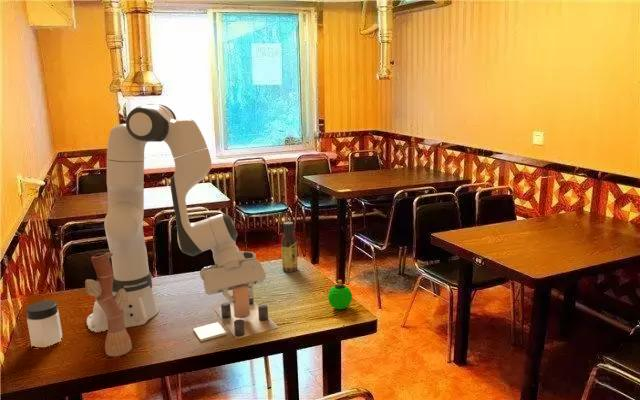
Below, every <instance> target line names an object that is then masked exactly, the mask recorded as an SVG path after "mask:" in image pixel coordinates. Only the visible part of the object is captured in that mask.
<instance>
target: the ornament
mask: <svg viewBox="0 0 640 400" xmlns="http://www.w3.org/2000/svg"><path fill="white" fill-rule="evenodd" d="M327 299H328V303H329V304H330V305H331V306H332V307H333V308H334V309H336V310H343V309H346V308H347V307H349V306H350V305H351V303H352V300H353V293H352V291H351V289H350V288H349V287H347V286H346V285H345V284H343V281H342V279H338V280H337V284H336V285H334V286H332V287H331V288H330V289H329V291H328V295H327Z"/></svg>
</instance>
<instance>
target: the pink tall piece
mask: <svg viewBox="0 0 640 400" xmlns="http://www.w3.org/2000/svg"><path fill="white" fill-rule="evenodd" d="M112 255H113V254H112V253H111V252H110V251H109V252H108V251H107V252H97V253H95V254H94V255H92V256H91V258H90V260H91V263H92V265H93V268H94V271H95V274H96V280H95V279H90V278H89V279H88V278H87V279H85V281H84V287H85V290H86V293H87V294H88V295H89V296H90V297H95V301H96V300H97V302H98V304H99V305H100V307H101V308H102V309H103V311H104V312H105V314H106V316H107V322H108V331H107V334H106V336H105V340H104V341H105V342H104V350H105V351H104V352H105V354H106V356H109V357H112V356H113V357H120V356H123V355H126V354H127V353H130V351H132V350H133V345H132V340H131V337H130V335H129V333H128V331H127V329H126V328H127V327H126V328H125V324H124V312H123V309H124V308H125V307H126V305H127V303H128V295H127V293H126V291H125V290H124V289H120V290H119V291H118V292H117V293H116V295H115V296H113V294H112V289H113V277H114V273H113V267H112V262H111V260H110V258H111V256H112Z"/></svg>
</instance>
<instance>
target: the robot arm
mask: <svg viewBox="0 0 640 400" xmlns="http://www.w3.org/2000/svg"><path fill="white" fill-rule="evenodd" d="M149 142H150V143H151V142H154V143H155V142H158V143H160V142H164V143H166V145H167V146H168V148H169V149H170V152H171V155H172V158H173V161H174V167H175V168H174V173H173V175H172V176H171V177H170V180H169V181H170V182H169V183H170V192H171V200H172V205H173V210H174V217H175V222H176V223H175V224H176V228H177V229H176V231H177V234H176V236H177V243H178V247H179V249H180V251H181V252H182V253H183V254H185V255H188V256H190V257H195V256H197V255H200V254H202V253H203V252H206V251H209V250H211V251H212V258H213V261H214V264H213V265H208V266H204V267H203V268H202V269H201V270H200V271H199V275H200V279H201V280H202V281H203V282H202V283H203V287H204V291H205V294H206V295H208V296H212V295H216V294H219V293H222V295H223V297H225V298H226V299H227V301H228V303H230V304H234V301H235V299H234V296H233V295H232V294H230V293H229V291H233V290H232V289H233V288H234V287H236V286H247V287H248V290H250V291H249V298H253V299H254V291H253V290H254V286H255V285H258V284H262V283H264V282H265V280H266V278H267V275H266V272H265V269H264V267H263V265H262V263H261V262H260V261H259V260H258V259H257V255H256V253H255V252H253V251H243V250H240V249H239V247H238V246H237V244H236V240H237V237H238V235H239V233H238V231H237V229H236V227H235V223H234V219H233V217H231V216H230V215H228V214H226V213H220V214H216V215H212V216H210V217H208V218H204V219H202V220H201V219H200V220H199V221H196V222H190V220H189V214H188V208H187V207H188V206H187V201H186V198H187V195H188V193H189V192H190V190H191V189H192V188H194V187H195V186H196V185H197V184H198V183H200V182H201V181H203V179H204V178H206V176H208V174H209V173H210V170H211V168H212V165H213V164H212V157H211V154H210V150H209V148H208V147H209V146H208V145H207V142H206V140H205V136H203V133H202V131H201V129H200V127H199V126H198V124H197V122H196V121H195V120H194V119H191V118H188V117H182V118H177V116H176V114H175V112H174V111H173V110H172V109H171V108H169V107H168V106H166V105H163V104H157V103H155V104H154V103H150V104H145V105H139V106H137V107H135V108H133V109H131V111H129V113H128V114H127V116H126V120H125V123H119V124H116V125H115V126H113V127H112V128H111V129H110V132H109V136H108V142H107V149H106V187H107V188H106V189H107V190H106V191H107V200H108V201H107V203H108V204H107V205H108V206H107V213H106V215H105V218H104V220H103V221H104V222H103V223H104V224H103V225H104V231H105V236H106V240H107V241H106V242H107V244H108V248H109V252H111V253H112V254H113V255H112V256H111V257H110V258H111V266H112V269H113V273H114V277H113V289H112V294H113V296H115V295H116V293H117V292H118V291H119V290H120V289H124V290H125V291H126V293H127V295H128V303H127V305H126V307H125V308H124V309H123V312H124V324H125V328H131V327H136V326H142V325H145V324H146V323H147V322H148V321H149V320H151V319H152V318H154V317H155V316H156V315H157V314H159V307H158V306H157V303H156V300H155V298H154V297H155V296H154V293H153V289H152V288H153V280H152V274H151V272H150V269H149V259H148V253H147V250H148V249H147V245H146V241H145V235H144V228H143V224H144V223H143V220H144V216H145V215H144V213H145V209H144V208H145V203H144V202H145V196H144V192H145V191H144V188H145V187H144V182H145V181H144V178H145V177H144V176H145V172H144V171H145V148H146V144H147V143H149ZM252 291H253V292H252ZM86 326H88V327H87V328H88V330H89V329H90V330H89V331H91V332H93V331H94V332H93V333H101V331H102V332H107V331H106V330H108V322H107V316H106V314H105V312H104V311H103V309H102V308H101V307H100V305H99V304H98V302H97V300H96V299H95V301H94V304H93V310H92V313H90V314H89V315H88V316H87V318H86Z"/></svg>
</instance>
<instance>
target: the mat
mask: <svg viewBox="0 0 640 400" xmlns="http://www.w3.org/2000/svg"><path fill="white" fill-rule="evenodd" d="M192 329H193V330H192V331H193V333H194V334H195V335H196V337H197V338H198V340H199V341H200V342H206V341H209V340H212V339H215V338H220V337H223V336H227V331H226V329H224V328H223V327H222V325H221V324H220V323H219V322H218V321H217V322H213V323H209V324H205V325H203V326H202V325H201V326H198V327H195V328H192Z"/></svg>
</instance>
